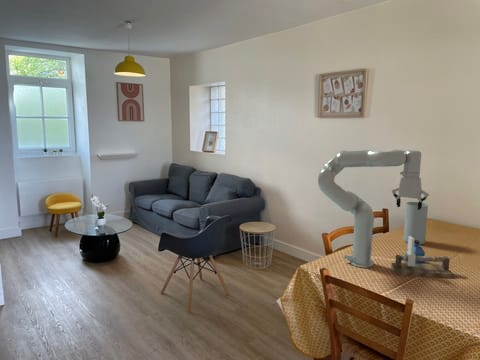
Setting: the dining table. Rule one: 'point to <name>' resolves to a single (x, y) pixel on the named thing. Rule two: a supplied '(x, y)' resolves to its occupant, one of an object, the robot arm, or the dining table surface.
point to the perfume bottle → (418, 251)
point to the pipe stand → (423, 267)
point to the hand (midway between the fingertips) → (408, 208)
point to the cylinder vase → (415, 221)
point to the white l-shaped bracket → (410, 252)
